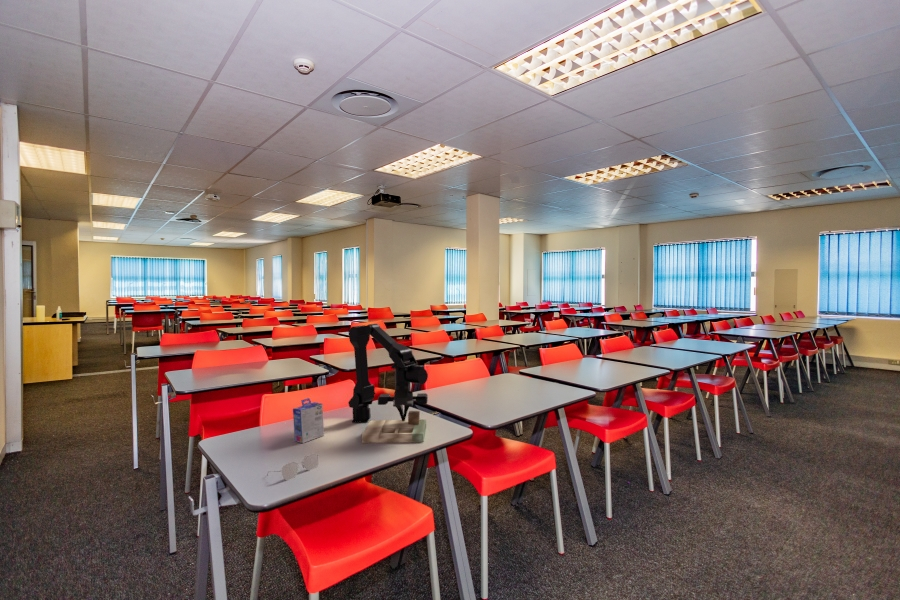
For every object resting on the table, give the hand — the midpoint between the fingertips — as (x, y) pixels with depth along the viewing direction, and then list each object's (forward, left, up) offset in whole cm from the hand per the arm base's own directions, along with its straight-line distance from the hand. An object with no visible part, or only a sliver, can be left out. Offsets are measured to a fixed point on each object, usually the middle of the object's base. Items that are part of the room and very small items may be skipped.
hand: (403, 421), depth 163 cm
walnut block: (+4, 0, -1) cm, 4 cm away
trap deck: (-3, -4, -4) cm, 6 cm away
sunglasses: (-30, -34, -5) cm, 45 cm away
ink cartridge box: (-35, -6, -4) cm, 35 cm away
